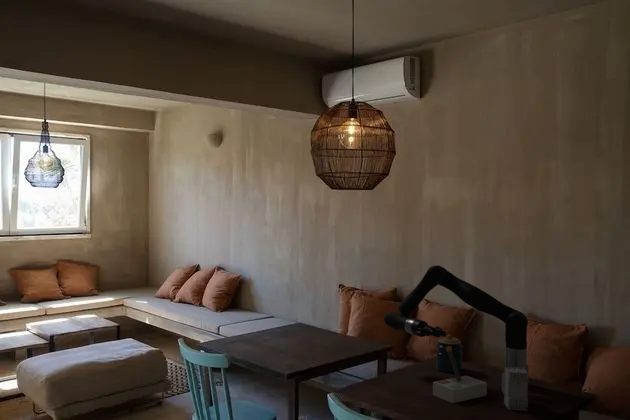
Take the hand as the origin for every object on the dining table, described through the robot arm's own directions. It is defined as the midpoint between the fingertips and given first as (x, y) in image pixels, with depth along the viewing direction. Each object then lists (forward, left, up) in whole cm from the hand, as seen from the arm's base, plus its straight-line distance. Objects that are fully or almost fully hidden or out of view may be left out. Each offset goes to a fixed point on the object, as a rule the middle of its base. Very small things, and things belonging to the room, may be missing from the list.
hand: (442, 334), depth 256 cm
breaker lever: (-4, +10, -18) cm, 22 cm away
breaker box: (-4, +10, -24) cm, 26 cm away
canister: (-15, -28, -24) cm, 40 cm away
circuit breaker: (-22, +23, -24) cm, 40 cm away
